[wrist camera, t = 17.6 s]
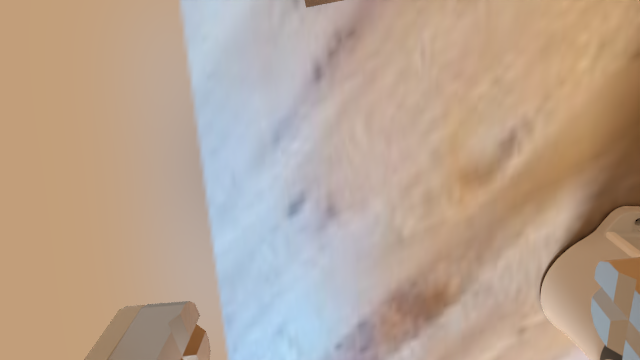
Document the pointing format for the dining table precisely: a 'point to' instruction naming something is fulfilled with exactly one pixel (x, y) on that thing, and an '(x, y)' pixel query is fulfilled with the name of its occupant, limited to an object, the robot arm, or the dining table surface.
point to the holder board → (318, 2)
